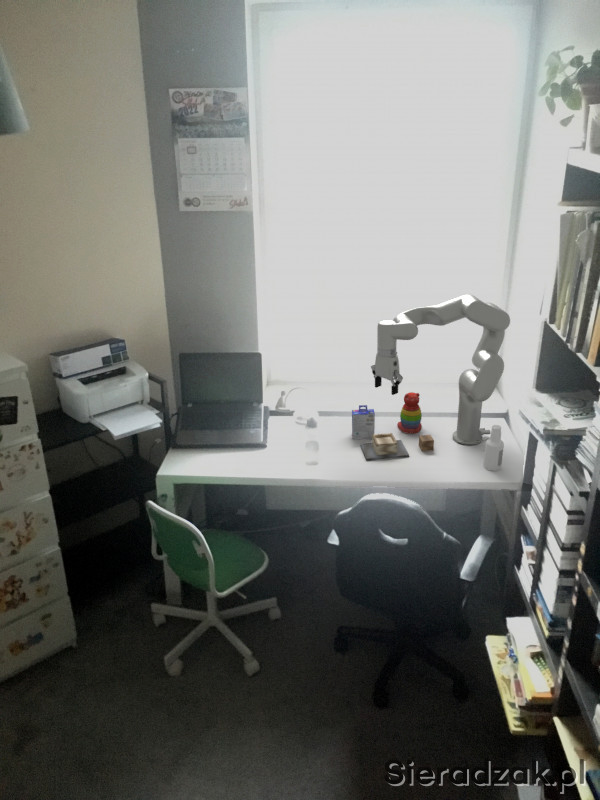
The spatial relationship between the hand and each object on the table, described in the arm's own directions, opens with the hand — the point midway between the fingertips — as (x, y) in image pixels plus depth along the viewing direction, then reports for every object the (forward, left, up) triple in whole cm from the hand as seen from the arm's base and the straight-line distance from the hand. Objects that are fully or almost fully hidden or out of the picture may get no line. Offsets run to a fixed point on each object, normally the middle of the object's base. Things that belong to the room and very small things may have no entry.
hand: (386, 390), depth 262 cm
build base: (+1, +3, -27) cm, 27 cm away
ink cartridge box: (+7, -12, -27) cm, 30 cm away
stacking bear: (-15, -15, -27) cm, 35 cm away
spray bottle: (-39, +23, -27) cm, 52 cm away
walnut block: (-17, +3, -27) cm, 32 cm away
